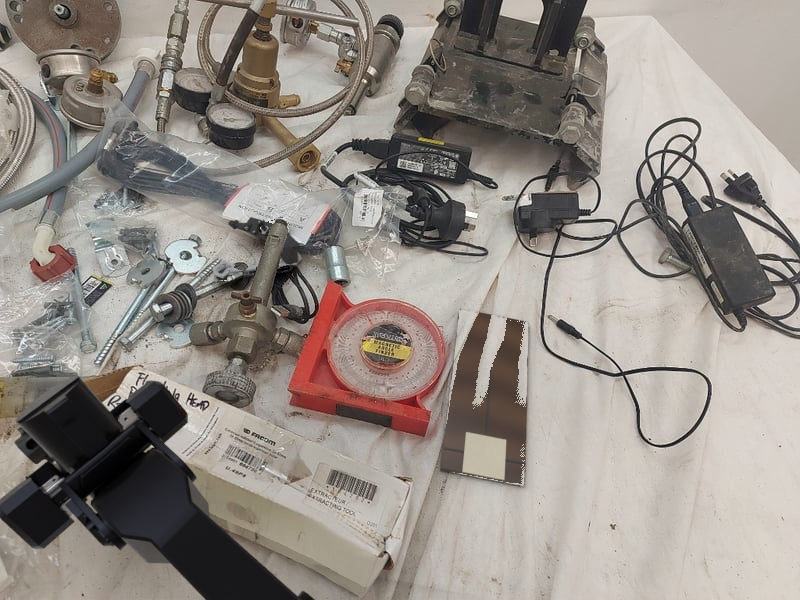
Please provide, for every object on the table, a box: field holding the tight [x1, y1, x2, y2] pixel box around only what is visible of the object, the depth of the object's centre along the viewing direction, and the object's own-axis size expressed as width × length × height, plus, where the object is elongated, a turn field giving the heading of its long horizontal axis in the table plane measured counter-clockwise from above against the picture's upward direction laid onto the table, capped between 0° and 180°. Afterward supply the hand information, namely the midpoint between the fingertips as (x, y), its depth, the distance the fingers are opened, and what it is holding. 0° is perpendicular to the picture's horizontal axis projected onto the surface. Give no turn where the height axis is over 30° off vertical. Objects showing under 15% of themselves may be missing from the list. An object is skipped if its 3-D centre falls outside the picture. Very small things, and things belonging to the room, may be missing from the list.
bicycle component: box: [212, 216, 302, 283], centre depth 98 cm, size 12×7×15 cm
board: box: [439, 311, 528, 484], centre depth 90 cm, size 28×12×1 cm, turn 171°
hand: (84, 445), depth 67 cm, fingers closed on two-way radio, 5 cm apart
